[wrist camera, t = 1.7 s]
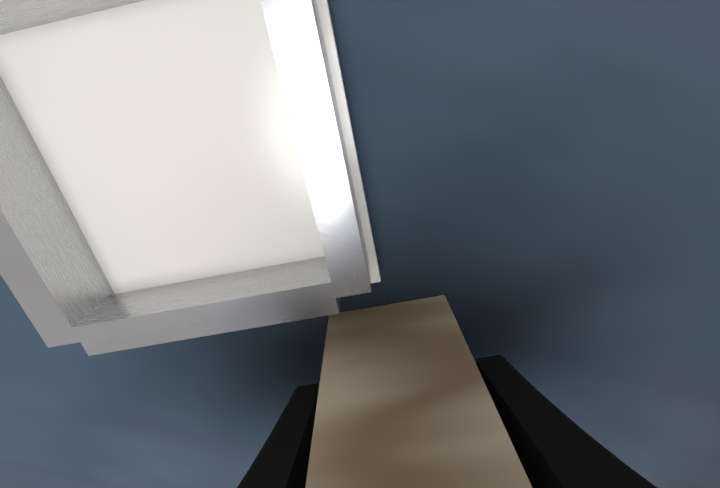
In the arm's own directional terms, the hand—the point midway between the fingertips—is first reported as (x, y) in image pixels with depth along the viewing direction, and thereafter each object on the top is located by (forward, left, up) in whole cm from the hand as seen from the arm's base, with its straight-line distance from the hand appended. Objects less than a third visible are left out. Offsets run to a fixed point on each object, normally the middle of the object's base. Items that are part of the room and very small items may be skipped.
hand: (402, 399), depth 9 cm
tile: (+4, -7, -2) cm, 8 cm away
